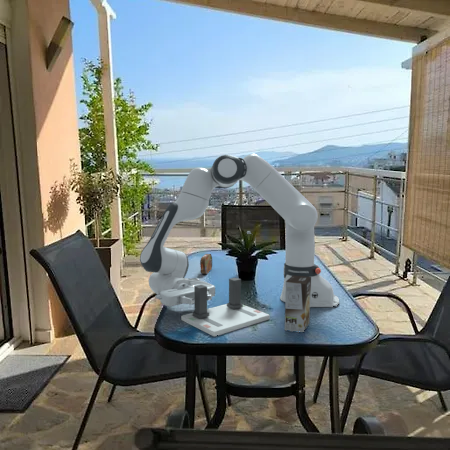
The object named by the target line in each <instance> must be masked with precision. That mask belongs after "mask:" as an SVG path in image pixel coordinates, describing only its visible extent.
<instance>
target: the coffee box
mask: <svg viewBox="0 0 450 450" xmlns="http://www.w3.org/2000/svg"><path fill="white" fill-rule="evenodd" d="M310 295H311V277H306V276H294V275H293V276H292V277H291V278H289V279H288V280H287V281H286V299H285V302H284V304H285V306H284V331H287V330H290V331H289V332H293V331H298V332H297V333H299V331H300V332H305V331H306V330H305V329H307V328H308V327H309V325H310V316H311V307H310ZM308 324H309V325H308ZM307 326H308V327H307ZM306 327H307V328H306ZM304 330H305V331H304Z"/></svg>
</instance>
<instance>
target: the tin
mask: <svg viewBox="0 0 450 450" xmlns="http://www.w3.org/2000/svg"><path fill="white" fill-rule="evenodd" d="M199 262H200V263H199V264H200V273H201V274H202V275H208V274H209V273H210V272H211V271H212V269H213V257H212V253H205V254H204V255H203V256H201V258H200V260H199ZM210 270H211V271H210ZM209 271H210V272H209Z"/></svg>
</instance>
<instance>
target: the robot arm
mask: <svg viewBox="0 0 450 450" xmlns="http://www.w3.org/2000/svg"><path fill="white" fill-rule="evenodd" d="M238 181H243V182H245V183H247V184H248V185H249V186H250V187H251V188H252V189H254V191H255V192H256V193H257V194H258V195H260V197H261V198H262V199H263V200H264V201H265V202H267V204H269V206H270V207H272V208H273V209H274V211H275V212H276V213H277V214H278V215H279V216H280V217H282V219H283V220H284V221H285V255H284V257H285V258H284V260H285V261H284V263H283V285H282V289H281V294H280V296H279V298H280V300H281V301H282V302H284V303H285V299H286V281H287V280H288V279H289V278H291V277H292V276H293V275H294V276H306V277H311V295H310V308H334V307H333V306H336V307H338V306H339V305H340V299H339V297H338V296H337V295H336V294H335V293H334V292H335V291H334V289H333V286H332V284H331V283H330V281H328V280H327V279H325V278H324V277H323V276H322V275H320V274H321V273H322V270H321V268H320V266H319V265H317V264H315V254H316V251H315V250H316V239H315V225H316V224H317V221H318V217H319V215H318V210H317V208H316V207H315V206H314V205H313V204H312V203H311V202H310V201H309V200H308V199H307V197H305V196H304V195H303V194H302V193H301V192H300V191H299V190H298V189H297V188H295V187H294V185H292V183H290V182H289V180H287V179H286V178H285V177H284V175H282V174H281V173H280V172H279V171H278V170H277V169H276V168H275V167H274V166H273V165H271V163H269V162H268V161H266V160H265V159H264V158H263V157H262V156H260V155H258V154H256V153H250V154H247V155H246V156H244V157H243V158H242V157H240V156H239V157H238V156H235V155H232V154H222V155H220V156H218V157H217V158H215V160H214V161H213V164H212V166H211V167H210V168H204V167H201V166H200V167H194V168H193V169H191V170H190V172H189V173H188V174H187V177H186V178H185V180H184V183H183V185H182V188H181V192H179V193H180V194H179V195H178V197H177V199H176V200H175V201H174V202H173V203H170V204H169V205H168V206H166V208H165V210H164V212H163V213H162V215H161V217H160V218H159V221H158V223H157V224H156V226H155V229H154V230H153V232H152V234H151V237H150V238H149V240H148V242H147V243H146V245H145V246H144V247H143V249H142V251H141V253H140V256H139V262H140V264H141V266H142V268H143V269H144V270H145V272H148V273H151V274H150V276H149V277H148V286H149V288H150V289H151V291H152V292H153V293H154V294H156V295H155V299H157V300H159V302H160V303H161V304H162V305H164V306H166V307H175V306H179V305H182V304H183V305H184V304H186V305H190V306H191V305H194V303H195V302H194V301H195V300H194V286H198V285H204V286H207V301H212V298H213V297H215V296H216V286H215V285H214V284H211V283H209V282H207V281H203V280H201V279H200V278H198V277H192V278H191V277H189V278H188V277H187V278H185V277H186V276H187V274H188V270H189V265H190V264H189V263H190V262H189V258H188V256H187V254H186V253H185V251H181V250H177V249H173V248H169V247H166V246H164V245H165V243H166V242H167V239H168V237H169V235H170V234H171V231H172V229H173V227H175V225H177V224H179V223H181V222H185V221H193V220H196V219H198V218H200V217H202V216H203V215H204V214H205V212H206V210H207V208H208V205H209V202H210V200H211V195H212V194H213V190H215V189H227V188H228V189H230V188H231V187H233V186H234V185H236V184H237V183H238ZM338 304H339V305H338ZM337 305H338V306H337Z"/></svg>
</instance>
